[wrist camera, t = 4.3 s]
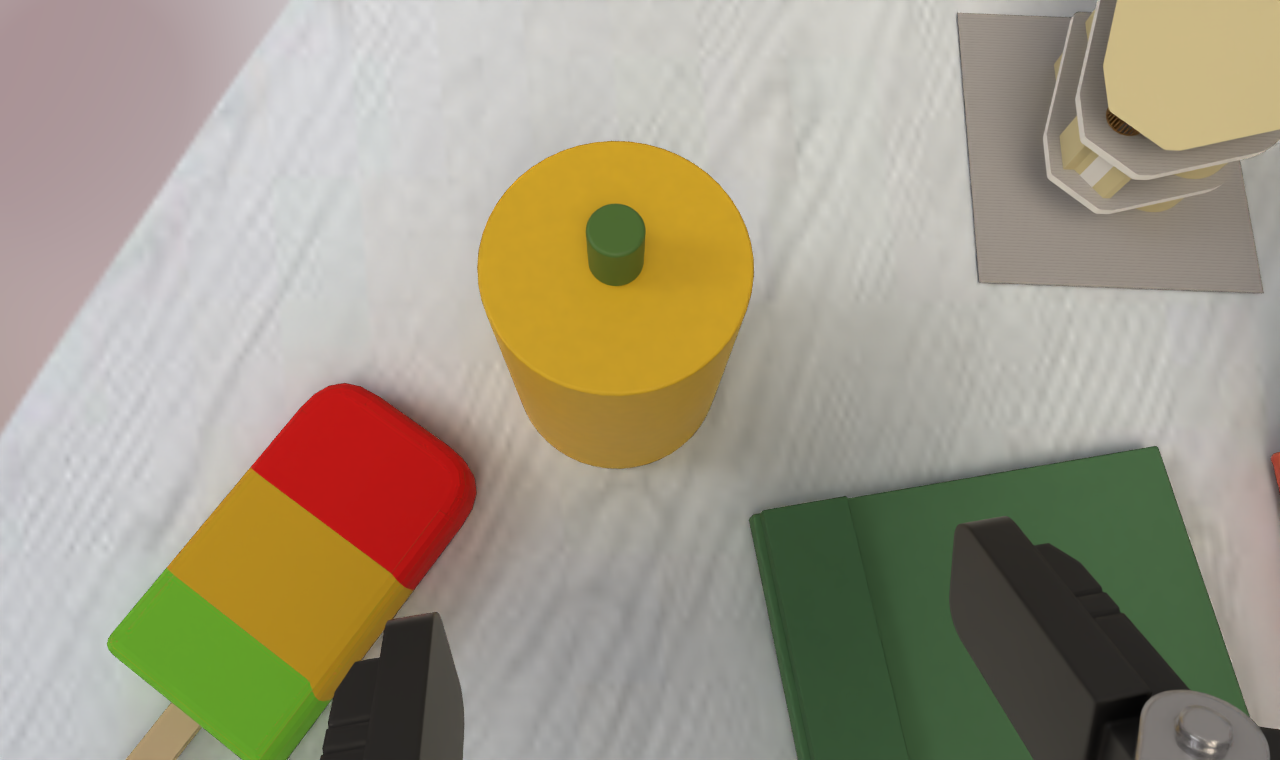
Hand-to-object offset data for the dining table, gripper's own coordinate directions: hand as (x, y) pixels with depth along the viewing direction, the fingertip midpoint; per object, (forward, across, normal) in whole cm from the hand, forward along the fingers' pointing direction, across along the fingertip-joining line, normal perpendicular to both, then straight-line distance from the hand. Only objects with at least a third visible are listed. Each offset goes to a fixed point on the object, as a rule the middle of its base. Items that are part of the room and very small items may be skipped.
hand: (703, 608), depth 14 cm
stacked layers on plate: (+17, -17, 0) cm, 24 cm away
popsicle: (+9, +11, +8) cm, 17 cm away
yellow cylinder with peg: (+14, 0, +3) cm, 14 cm away
